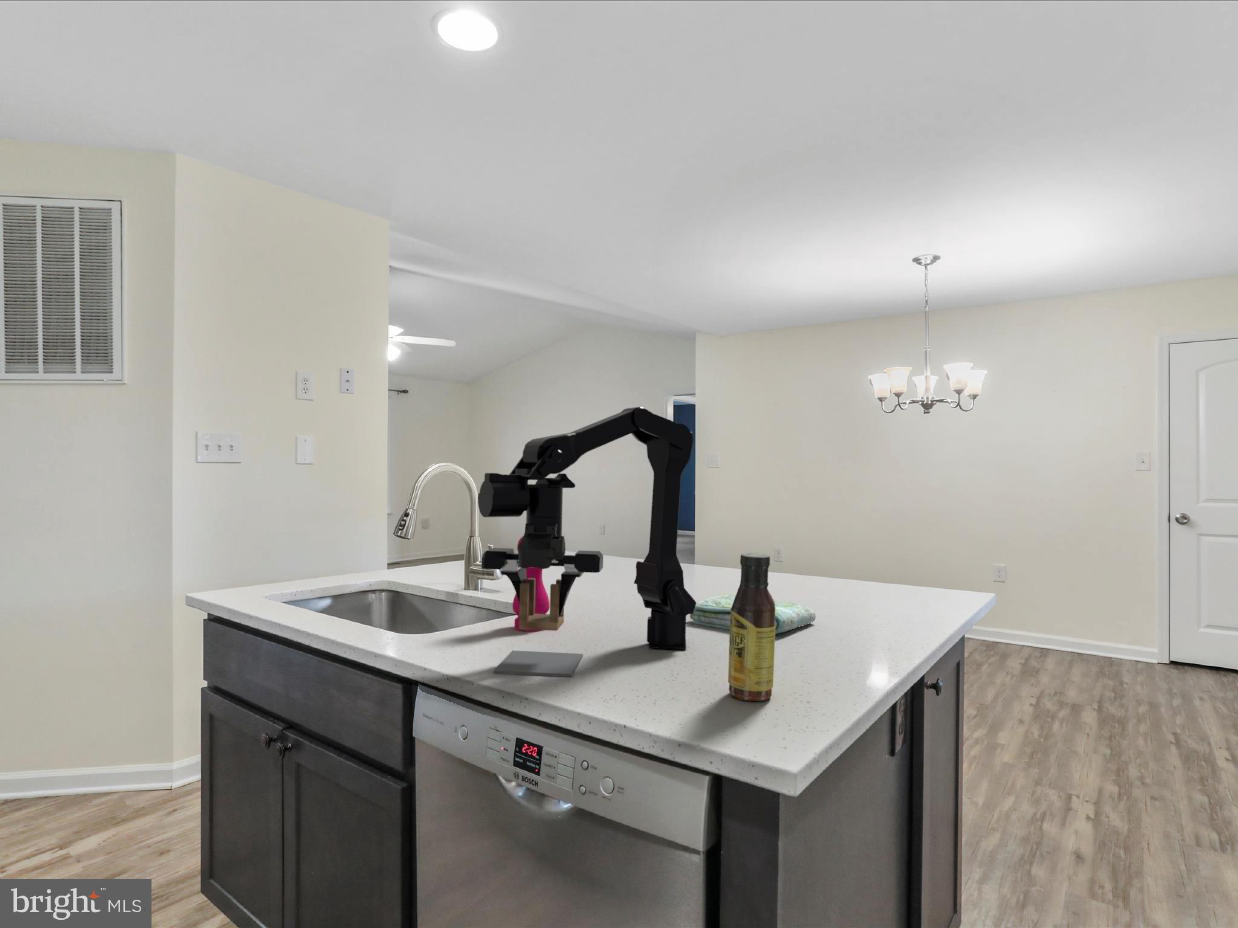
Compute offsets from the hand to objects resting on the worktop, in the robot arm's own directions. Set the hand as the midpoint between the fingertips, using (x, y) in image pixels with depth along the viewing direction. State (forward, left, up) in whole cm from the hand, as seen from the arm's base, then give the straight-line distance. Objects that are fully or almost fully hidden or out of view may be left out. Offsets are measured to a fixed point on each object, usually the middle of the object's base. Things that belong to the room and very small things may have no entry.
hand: (542, 614), depth 111 cm
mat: (0, 0, -8) cm, 8 cm away
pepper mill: (+7, -25, -8) cm, 27 cm away
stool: (0, 0, -2) cm, 2 cm away
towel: (-37, -38, -9) cm, 54 cm away
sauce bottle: (-32, +11, -8) cm, 35 cm away
